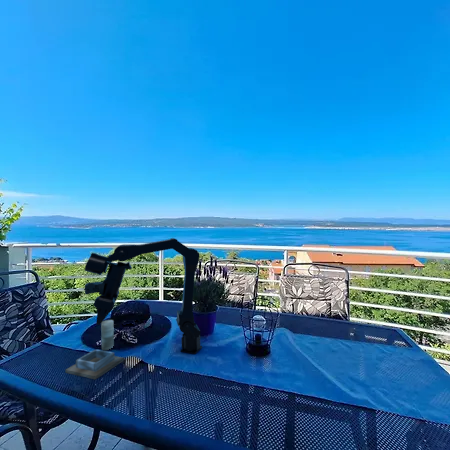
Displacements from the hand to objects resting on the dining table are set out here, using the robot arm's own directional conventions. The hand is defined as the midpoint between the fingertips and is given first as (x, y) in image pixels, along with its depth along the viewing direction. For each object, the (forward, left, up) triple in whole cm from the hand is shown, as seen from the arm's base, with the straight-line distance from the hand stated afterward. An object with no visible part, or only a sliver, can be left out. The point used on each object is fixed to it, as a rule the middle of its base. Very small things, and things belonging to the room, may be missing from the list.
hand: (100, 320), depth 98 cm
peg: (+6, -10, -15) cm, 19 cm away
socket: (-1, +3, -15) cm, 15 cm away
